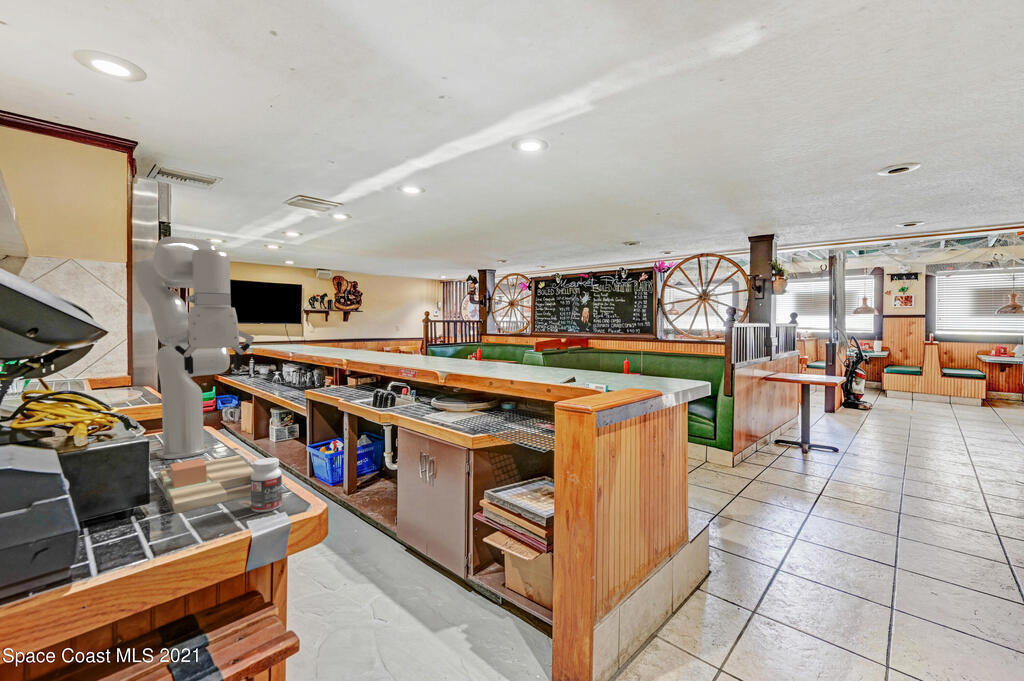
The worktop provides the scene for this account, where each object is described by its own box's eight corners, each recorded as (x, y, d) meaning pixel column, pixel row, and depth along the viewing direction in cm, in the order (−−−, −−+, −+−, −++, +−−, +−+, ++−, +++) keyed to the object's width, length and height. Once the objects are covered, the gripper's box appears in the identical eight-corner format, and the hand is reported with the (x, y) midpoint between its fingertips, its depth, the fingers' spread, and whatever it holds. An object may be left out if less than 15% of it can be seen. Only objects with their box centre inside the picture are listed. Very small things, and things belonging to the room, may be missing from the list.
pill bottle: (268, 514, 91) (267, 466, 91) (244, 511, 92) (243, 464, 92) (288, 503, 97) (287, 457, 96) (265, 500, 98) (264, 455, 97)
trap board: (159, 477, 111) (159, 469, 111) (238, 462, 122) (238, 455, 122) (175, 513, 91) (174, 504, 91) (267, 491, 103) (267, 483, 103)
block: (170, 481, 104) (169, 464, 103) (201, 474, 108) (201, 458, 107) (174, 488, 99) (173, 470, 99) (206, 481, 103) (206, 464, 103)
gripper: (169, 300, 100) (172, 376, 101) (256, 302, 112) (258, 370, 113) (165, 300, 106) (168, 373, 107) (248, 302, 118) (250, 367, 119)
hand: (214, 371), depth 110 cm, fingers open, 9 cm apart
